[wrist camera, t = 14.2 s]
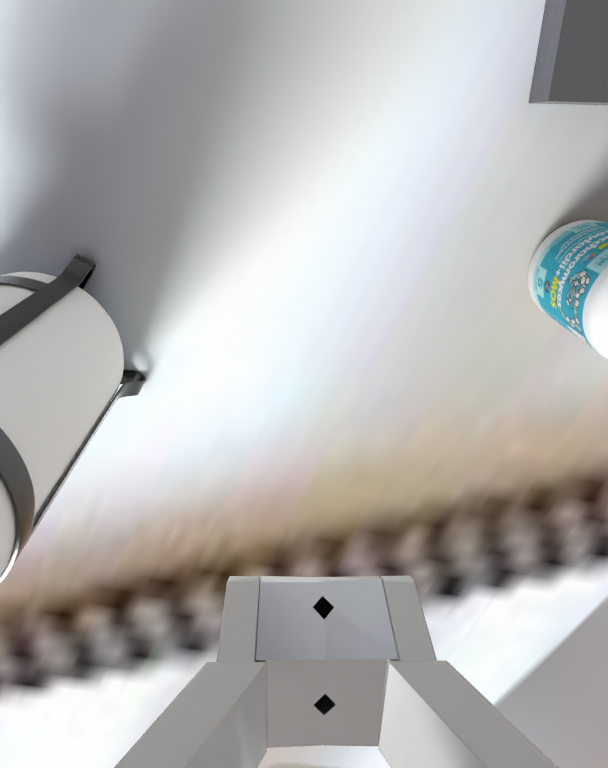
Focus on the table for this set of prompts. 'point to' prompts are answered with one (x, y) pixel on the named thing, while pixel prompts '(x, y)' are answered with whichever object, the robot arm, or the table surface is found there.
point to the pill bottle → (574, 280)
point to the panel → (572, 54)
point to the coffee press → (50, 390)
